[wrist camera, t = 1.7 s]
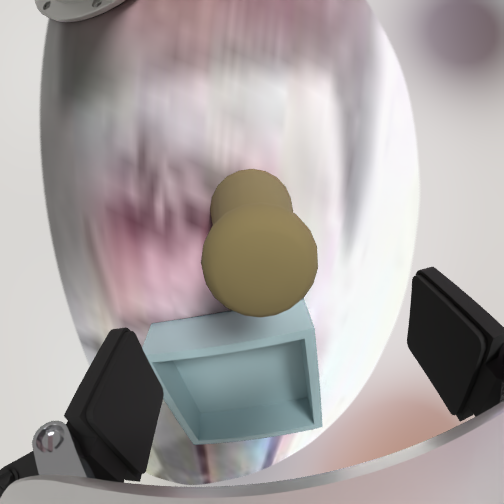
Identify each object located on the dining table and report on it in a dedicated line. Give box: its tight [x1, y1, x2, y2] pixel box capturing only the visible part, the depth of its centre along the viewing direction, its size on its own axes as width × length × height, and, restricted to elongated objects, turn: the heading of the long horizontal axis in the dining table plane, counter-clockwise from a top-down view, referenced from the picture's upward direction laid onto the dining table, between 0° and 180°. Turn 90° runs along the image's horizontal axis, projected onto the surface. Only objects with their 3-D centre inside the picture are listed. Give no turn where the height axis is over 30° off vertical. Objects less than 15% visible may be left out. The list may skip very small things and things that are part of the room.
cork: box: [201, 169, 318, 317], centre depth 17 cm, size 6×6×11 cm
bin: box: [142, 298, 322, 445], centre depth 26 cm, size 14×14×4 cm
